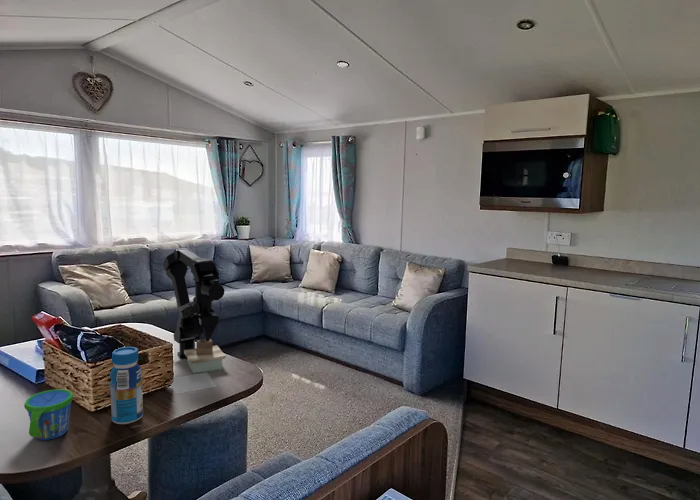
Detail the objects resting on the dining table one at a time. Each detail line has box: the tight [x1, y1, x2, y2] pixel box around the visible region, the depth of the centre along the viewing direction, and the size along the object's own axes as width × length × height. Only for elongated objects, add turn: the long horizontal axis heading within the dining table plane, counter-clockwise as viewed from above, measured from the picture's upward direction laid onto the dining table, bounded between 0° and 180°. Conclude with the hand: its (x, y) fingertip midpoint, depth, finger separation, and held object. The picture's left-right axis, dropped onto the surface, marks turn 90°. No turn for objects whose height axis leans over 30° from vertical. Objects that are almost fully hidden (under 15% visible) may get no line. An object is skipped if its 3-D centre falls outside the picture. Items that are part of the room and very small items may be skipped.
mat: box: [170, 372, 218, 395], centre depth 158 cm, size 13×13×1 cm
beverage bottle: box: [109, 346, 144, 425], centre depth 133 cm, size 8×8×20 cm
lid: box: [184, 338, 227, 364], centre depth 171 cm, size 12×12×6 cm
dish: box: [186, 358, 223, 375], centre depth 171 cm, size 10×10×4 cm
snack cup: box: [23, 388, 74, 441], centre depth 124 cm, size 16×10×10 cm
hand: (204, 337), depth 170 cm, fingers open, 9 cm apart
